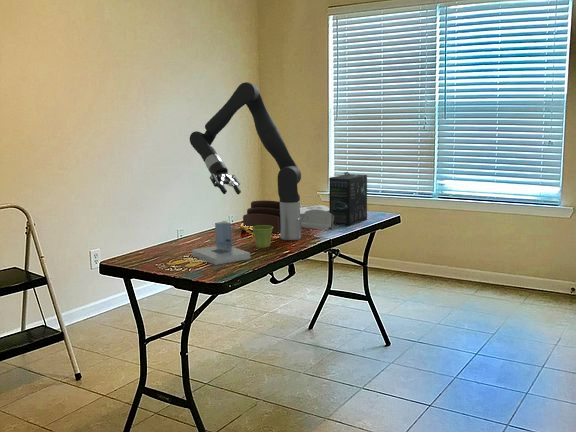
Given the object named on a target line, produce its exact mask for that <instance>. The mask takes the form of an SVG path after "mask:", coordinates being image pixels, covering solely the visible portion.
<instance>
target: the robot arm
mask: <svg viewBox="0 0 576 432" xmlns="http://www.w3.org/2000/svg"><path fill="white" fill-rule="evenodd" d="M245 105H246V107H247V109H248V110H249V112H250V114H251V116H252V118H253V123H254V127H255V130H256V134H257V135H258V138H259V140H260V142H261V143H262V145H263V147H264V149H266V151H267V152H268V153H269V154H270V155H271V156H272V158H273V159H274V161H275V162H276V164H277V166H278V168H279V171H278V173H277V195H278V198H279V202H280V232H279V233H280V240H284V241H296V240H297V241H298V240H300V239H301V238H302V227H301V223H302V222H301V217H300V207H301V196H300V194H299V192H298V191H299V190H298V184H299V183H300V182H301V180H302V172H301V170H300V168H299V167H298V165H297V164H296V162H295V160H294V159H293V157H292V156H291V154H290V152H289V150H288V147H287V146H286V143H285V141H284V140H283V138H282V136H281V133H280V130H279V128H278V127H277V124H276V123H275V121H274V119H273V117H272V116H271V114H270V113H269V111H268V108H267V107H266V104H265V103H264V100H263V97H262V94H261V92H260V89H259V87H258V86H257V85H255V83H251V82H242V83H241V84H239V85H238V86H237V88H236V89H235V91H234V92H233V93H232V95H231V96H230V98H229V99H228V100H227V101H226V103H224V105H223V106H222V107H221V108H220V109H219V110H218V111H217V112H216V113H215V114H214V115H213V116H212V117H211V118H210V119H209V120H208V121H207V122H206V124H205V125H204V128H205V132H204V133H202V132H201V131H192V132H191V134H190V135H189V144H190V146H191V147H192V148H193V149H194V150H195V152H197V153H198V155H199V156H200V158H202V161H203V162H204V164H205V166H206V168H207V169H208V171H209V173H210V177H209V179H210V181H211V183H212V185H213V186H214V188H218V189H219V190H220V191H221V193H222V195H225V194H226V193H227V192H228V190H227V188H226V186H225V185H227V186H228V187H232V188H233V191H234V192H235V193H236V194H237V195H240V194H241V193H242V190H241V188H240V187H239V186H240V185H241V182H240V181H239V180H238V178H237V176H236V175H235V174H232V175H230V174H229V169H228V168H227V166H226V164H225V163H224V161H223V160H222V158H221V157H220V156H219V154H218V153H217V151H216V150H215V148H214V147H213V146H211V145H212V144H213V143H214V141H215V139H216V137H217V135H219V133H221V131H222V130H223V129H224V128H225V127H226V126H227V125H228V124H229V122H230V121H231V120H232V118H233V116H234V115H235V114H237V112H238V111H239V110H240V109H241V108H242V107H244V106H245Z"/></svg>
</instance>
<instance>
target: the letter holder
mask: <svg viewBox="0 0 576 432" xmlns="http://www.w3.org/2000/svg"><path fill="white" fill-rule="evenodd" d="M245 225H246V226H258V225H269V226H273V229H272V233H280V201H275V200H254V201H253V200H252V201H251V202H250V207H249V208H248V209H246V214H243V216H242V227H243V226H245Z"/></svg>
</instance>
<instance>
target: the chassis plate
mask: <svg viewBox="0 0 576 432" xmlns="http://www.w3.org/2000/svg"><path fill="white" fill-rule="evenodd" d="M191 256H192V257H194V258H197V259H200V260H201V261H204V262H207V263H209V264H211V265H214V266H218V265H222V264H223V265H224V264H229V263H234V262H235V263H236V262H239V261H240V262H242V261H245V260H246V261H247V260H251V252H249V251H246V250H242V249H241V248H238V247H234V246H233V245H232V246H229V245H219V246H216V245H214V246H207V247H201V248H195V249H191Z"/></svg>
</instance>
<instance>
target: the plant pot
mask: <svg viewBox="0 0 576 432" xmlns="http://www.w3.org/2000/svg"><path fill="white" fill-rule="evenodd" d="M252 229H253V231H252V232H253V237H254V241H255V247H256V248H258V249H265V248H270V247H271V240H272V233H273V232H272V229H273V226H269V225H258V226H253V227H252Z"/></svg>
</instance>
